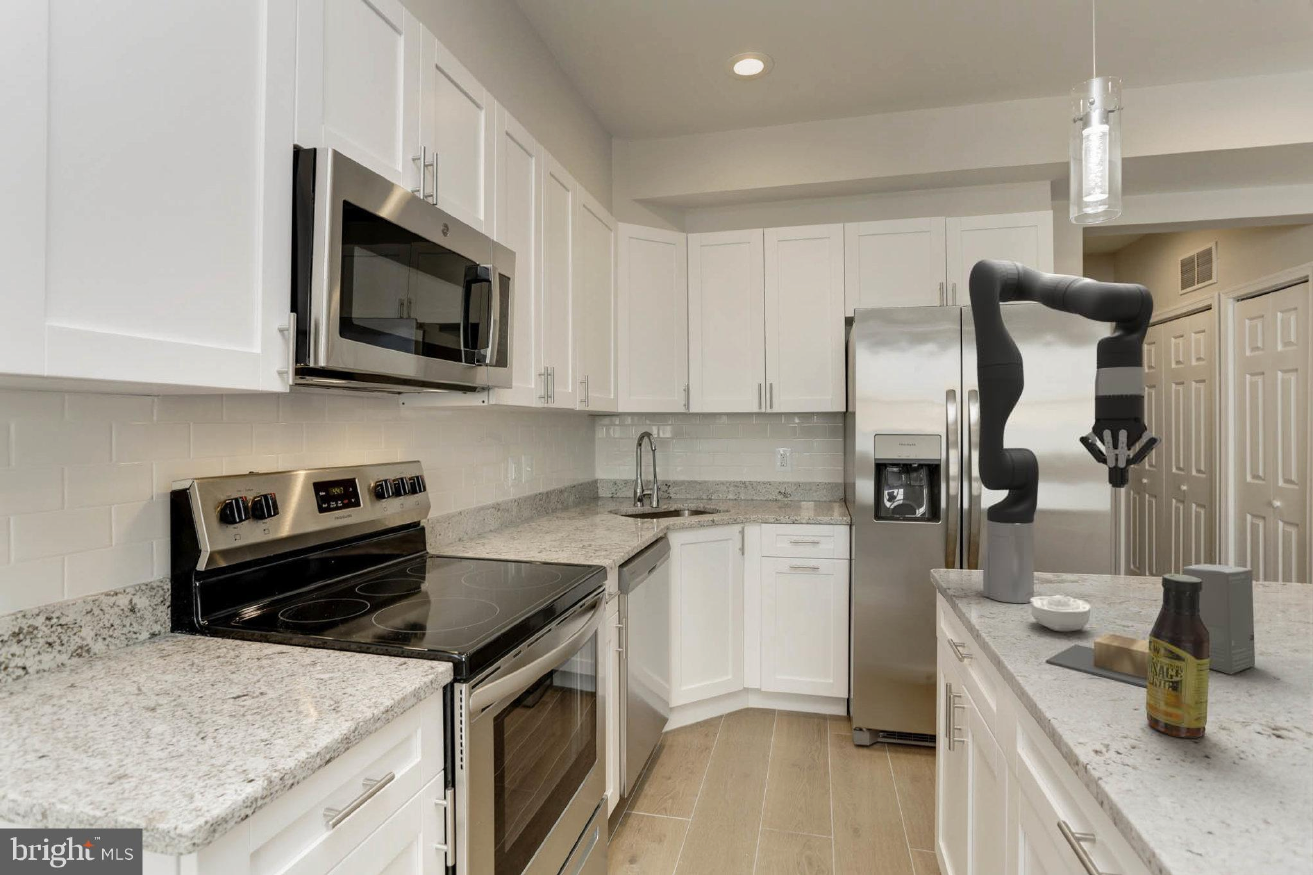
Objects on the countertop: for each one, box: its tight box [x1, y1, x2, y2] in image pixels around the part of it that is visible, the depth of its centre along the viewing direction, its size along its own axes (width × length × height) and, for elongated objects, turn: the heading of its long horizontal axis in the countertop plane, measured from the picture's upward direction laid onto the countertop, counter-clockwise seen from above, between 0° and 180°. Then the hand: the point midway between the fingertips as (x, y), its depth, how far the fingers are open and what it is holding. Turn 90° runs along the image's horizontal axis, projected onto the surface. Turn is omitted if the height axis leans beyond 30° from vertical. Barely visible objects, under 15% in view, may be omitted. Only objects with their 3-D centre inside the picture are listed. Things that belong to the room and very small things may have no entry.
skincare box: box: [1182, 563, 1256, 675], centre depth 111 cm, size 8×7×16 cm
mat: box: [1045, 644, 1147, 689], centre depth 110 cm, size 16×12×1 cm
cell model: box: [1029, 594, 1092, 632], centre depth 130 cm, size 10×12×7 cm
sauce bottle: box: [1145, 573, 1210, 739], centre depth 88 cm, size 6×6×20 cm
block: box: [1093, 632, 1149, 678], centre depth 108 cm, size 4×6×10 cm
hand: (1118, 487), depth 126 cm, fingers closed
